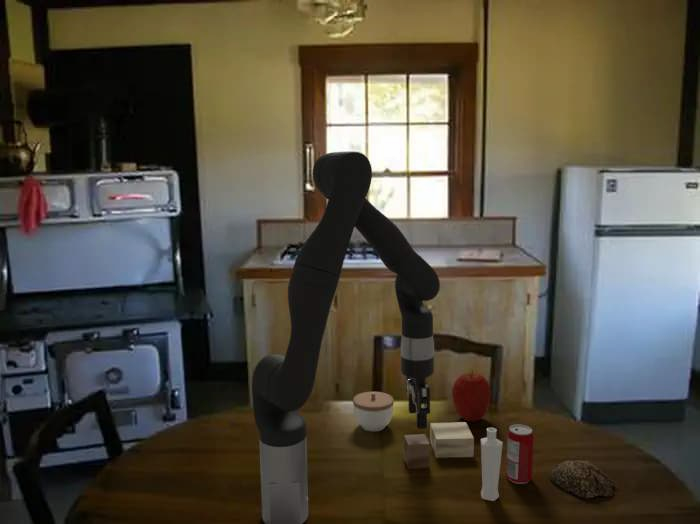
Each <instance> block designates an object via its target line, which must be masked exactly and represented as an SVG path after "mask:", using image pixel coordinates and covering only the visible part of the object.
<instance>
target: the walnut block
mask: <svg viewBox="0 0 700 524" xmlns="http://www.w3.org/2000/svg"><path fill="white" fill-rule="evenodd" d="M430 450H431V442H430V441H429V439H428V437H427V435H426V434H425V433H421V434H404V435H403V460H404V462H405V464H406V468H407V469H408V470H413V469H415V470H416V469H417V470H418V469H428V468H430V467H431V466H430V464H431V463H430V461H431V460H430V459H431V457H430V456H431V451H430Z"/></svg>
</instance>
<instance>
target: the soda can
mask: <svg viewBox="0 0 700 524" xmlns="http://www.w3.org/2000/svg"><path fill="white" fill-rule="evenodd" d="M533 457H534V434H533V429H532V428H531V427H529V426H528V425H524V424H520V423H519V424H512V425H510V426H509V428H508V432H507V442H506V468H505V469H506V470H505V471H506V472H505V476H506V478H507V479H508V480H509V481H510V482H512V483H513V484H520V485H525V484H528V483H529V482H530V481H531V480H532V479H533V462H534V461H533Z"/></svg>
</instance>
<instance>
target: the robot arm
mask: <svg viewBox="0 0 700 524" xmlns="http://www.w3.org/2000/svg"><path fill="white" fill-rule="evenodd" d="M312 168H313V169H312V179H313V183H314V185H315V187H316V188H317V190H318V191H319V192H320V194H322V195H323V197H325V198H326V199H327V203H326V206H325V210H324V212H323V215H322V216H321V219H320V221H319V222H318V224H317V225H316V227H314V228H315V229H314V230H313V231H312V232H311V234H310V235H309V237H308V238H307V239H306V241H305V242H304V243H303V245H302V246H301V248H300V249H299V252H298V253H297V256H296V258H295V261H294V265H293V267H292V271H291V274H290V277H289V282H288V287H287V302H288V310H289V318H290V319H289V320H290V336H289V343H288V345H287V348H286V353H285V356H284V355H283V354H278V353H277V354H275V353H273V354H269V355H268V354H267V355H266V356H264V357H262V358H261V359H260V360H259V361H258V362H257V364H256V366H255V367H254V370H253V373H252V378H251V396H252V397H251V398H252V408H253V416H254V423H255V426H256V429H257V430H258V433H259V434H258V439H259V461H260V462H259V463H260V464H259V466H260V467H259V468H260V469H259V470H260V489H261V490H260V491H261V494H260V495H261V512H262V513H261V516H262V517H261V518H262V522H264V524H304V523H305V522H306V521H307V519H308V517H309V495H308V494H309V493H308V488H309V487H308V460H307V459H308V453H307V452H308V451H307V448H308V447H307V442H308V441H307V424H306V420H305V419H304V418H303V416H302V415H301V414H300V412H299V411H298V410H299V409H301V408H302V407H303V406H304V405H306V403H307V402H308V400H309V398H310V396H311V395H312V392H313V389H314V385H315V381H316V376H317V375H316V374H317V369H318V363H319V359H320V353H321V347H322V343H323V339H324V334H325V331H326V326H327V322H328V320H329V319H328V318H329V316H330V310H331V308H332V304H333V301H334V298H335V294H336V292H337V288H338V284H339V282H340V277H341V273H342V269H343V266H344V262H345V258H346V255H347V252H348V250H349V245H350V242H351V240H352V239H351V238H352V236H353V232H354V229H356V230H357V231H358V232H359V233H360V234H361V236H362V237H363V238H364V239H365V240H366V242H367V243H368V244H369V246H370V247H371V248H372V250H373V251H374V253H375V254H376V255H377V257H378V258H379V259H380V261H381V262H382V263H383V265H384V266H385V267H386V268H387V269H388V270H389V271H390V272H391V273H394V274H396V276H395V281H394V289H395V295H396V300H397V304H398V307H399V311H400V314H401V339H400V372H401V374H402V375H403V376H404V377H405V391H406V393H407V394H406V395H407V398H408V412H409V414H416V427H417V429H418V430H424V429H427V428H428V415H429V414H431V389H430V387H429V385H428V382H426V379H427V378H428V377H431V376H433V374H434V372H435V341H434V317H433V316H434V315H433V312H432V311H431V310H430V309H429V308H428V307H426V306H425V304H424V302H429V301H431V300H433V299H434V298H436V297H437V295H438V294H439V292H440V290H441V289H440V288H441V283H440V279H439V276H438V274H437V271H435V269H434V268H433V267H432V266H431V265H430V264H429V263H428V262H427V261H426V260H425V259H424V258H423V257H422V256H421V255H419V254H418V252H416V251H415V250H414V249H413V247H412V245H411V243H410V242H409V241H408V239H407V238H406V236H405V235H404V234H403V232H402V231H401V229H400V228H399V227H398V226H397V225H396V224H395V223H394V222H393V221H392V220H391V219H389V217H388V216H386V215H385V214H384V213H382V212H381V211H380V210H379V209H378V208H377V207H375V205H373V204H372V203H371V202H370V201H369V200H368V199H367V195H368V193H369V190H370V187H371V184H372V178H373V168H372V163H371V162H370V160H369V158H368V157H367V156H366V154H364V153H363V152H360V151H354V150H352V151H351V150H348V151H332V152H329V153H328V152H327V153H325V154H322V155H321V156H319V157H318V158H317V159H316V161H315V162H314V164H313V167H312ZM422 405H423V407H422Z"/></svg>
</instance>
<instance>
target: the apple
mask: <svg viewBox="0 0 700 524" xmlns="http://www.w3.org/2000/svg"><path fill="white" fill-rule="evenodd" d="M471 370H472V369H471ZM473 372H474V371H473V370H472V371H471V373H469V372H468V373H464V374H461V375H460V376H459V377H458V378H456V380H455V381H454V384H453V385H452V387H451V391H452V392H451V393H452V401H453V405H454V407H455V409H456V412H457V414H458V415H459V417H461V418H462V419H463V420H464V421H466V422H472V423H473V422H478V421H479V420H481V419H482V418H483V417H484V416H485V415H486V413H487V411H488V408H489V406H490V403H491V397H492V391H491V387H490V384H489V381H488V380H487V378H486V377H485V376H484V375H482V374H479V373H473Z"/></svg>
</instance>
